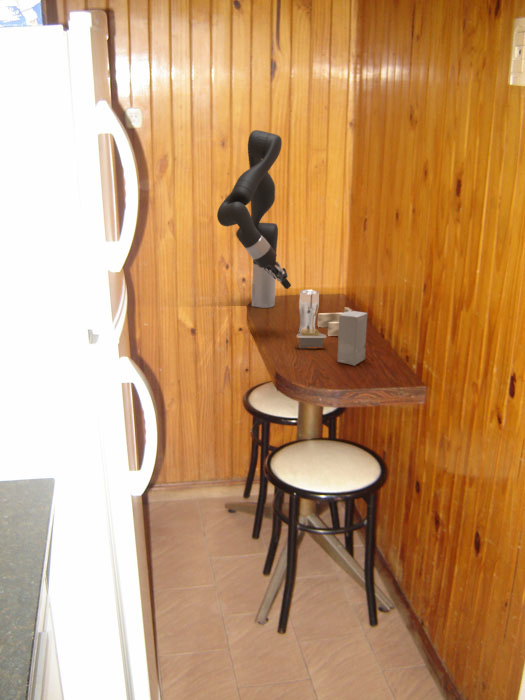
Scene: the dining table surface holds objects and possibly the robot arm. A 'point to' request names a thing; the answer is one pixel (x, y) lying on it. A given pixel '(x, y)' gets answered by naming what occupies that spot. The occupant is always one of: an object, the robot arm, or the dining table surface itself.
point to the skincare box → (352, 337)
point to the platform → (310, 338)
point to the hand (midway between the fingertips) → (288, 287)
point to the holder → (330, 321)
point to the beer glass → (308, 309)
